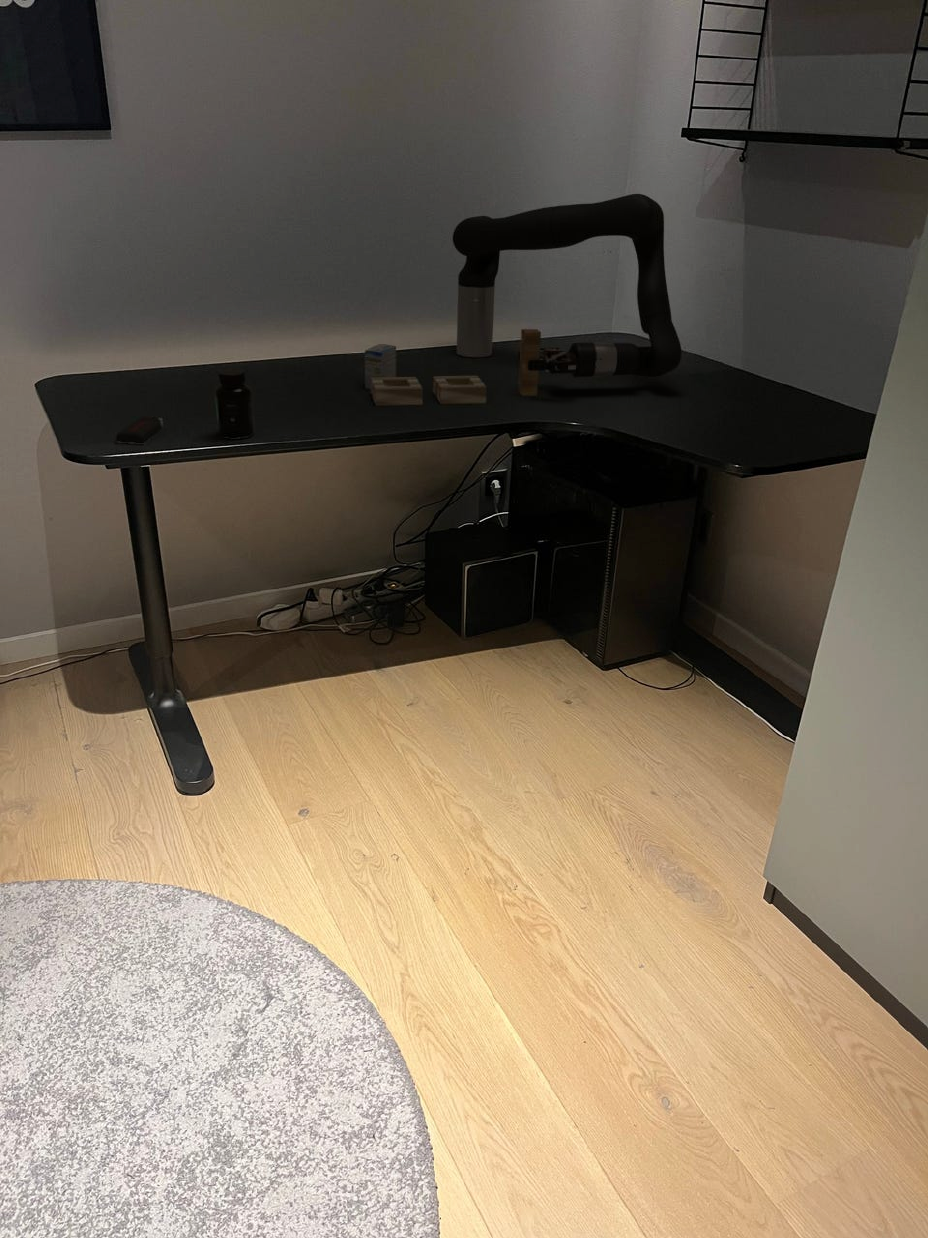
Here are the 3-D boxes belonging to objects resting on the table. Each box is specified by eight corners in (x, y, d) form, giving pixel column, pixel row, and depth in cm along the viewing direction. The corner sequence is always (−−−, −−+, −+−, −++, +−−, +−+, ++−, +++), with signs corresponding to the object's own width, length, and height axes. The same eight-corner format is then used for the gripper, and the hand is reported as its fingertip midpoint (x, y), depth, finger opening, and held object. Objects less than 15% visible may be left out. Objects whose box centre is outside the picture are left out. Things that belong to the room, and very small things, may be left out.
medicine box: (379, 380, 227) (378, 343, 223) (396, 383, 226) (396, 345, 221) (364, 388, 220) (364, 350, 216) (382, 391, 219) (382, 352, 215)
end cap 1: (371, 393, 217) (370, 377, 215) (415, 392, 218) (415, 376, 217) (376, 405, 208) (376, 389, 206) (422, 404, 210) (422, 388, 208)
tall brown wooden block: (518, 392, 221) (521, 329, 215) (532, 391, 222) (536, 328, 215) (521, 396, 218) (525, 332, 212) (536, 395, 219) (541, 332, 212)
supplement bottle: (213, 438, 185) (207, 375, 179) (225, 428, 191) (220, 366, 185) (247, 441, 184) (242, 377, 179) (259, 430, 190) (255, 369, 185)
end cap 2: (433, 391, 219) (433, 376, 218) (476, 390, 221) (477, 375, 219) (440, 404, 211) (441, 388, 209) (486, 402, 212) (486, 386, 211)
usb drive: (116, 445, 181) (114, 431, 180) (142, 427, 192) (140, 413, 190) (144, 447, 181) (142, 432, 179) (168, 428, 191) (166, 414, 190)
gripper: (584, 335, 224) (516, 336, 221) (604, 349, 211) (532, 350, 208) (581, 368, 227) (514, 369, 224) (601, 384, 215) (530, 385, 212)
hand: (523, 360), depth 216 cm, fingers open, 8 cm apart
